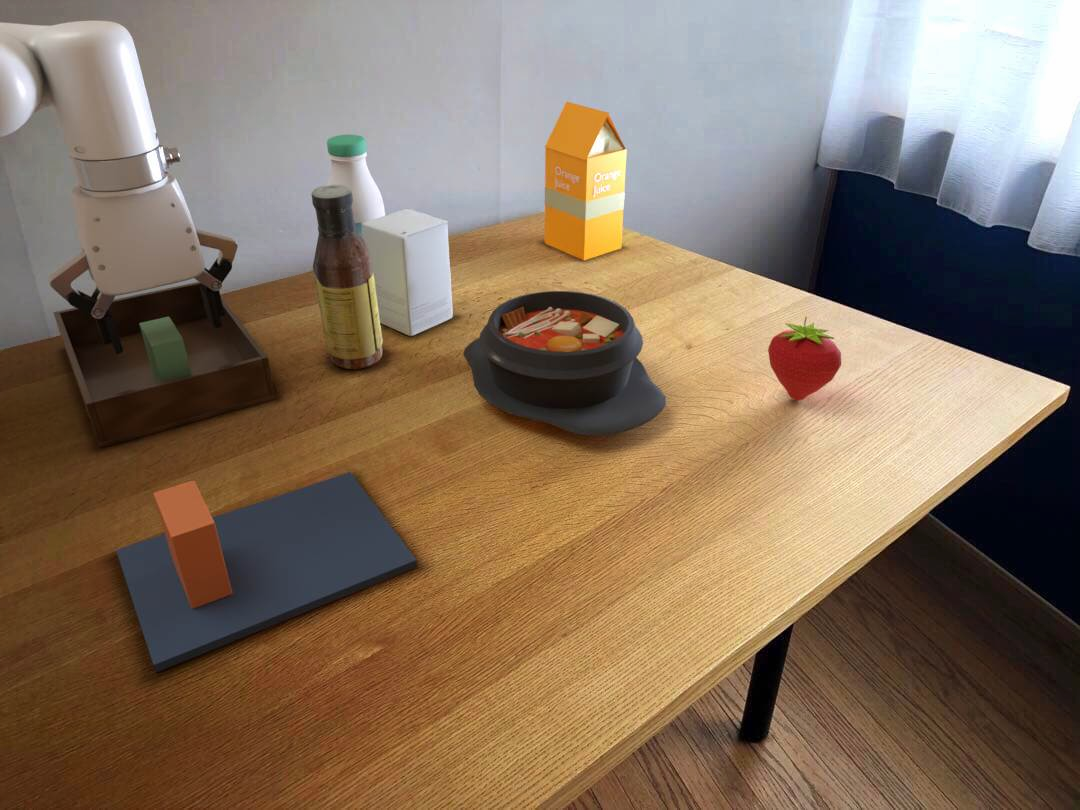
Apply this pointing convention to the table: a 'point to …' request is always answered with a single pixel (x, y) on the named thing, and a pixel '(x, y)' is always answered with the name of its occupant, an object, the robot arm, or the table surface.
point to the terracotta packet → (193, 543)
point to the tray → (127, 380)
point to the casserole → (565, 363)
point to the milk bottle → (355, 177)
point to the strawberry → (803, 359)
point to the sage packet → (165, 349)
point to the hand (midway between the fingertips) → (167, 335)
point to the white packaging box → (410, 270)
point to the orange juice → (584, 183)
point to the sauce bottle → (345, 282)
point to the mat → (266, 568)
